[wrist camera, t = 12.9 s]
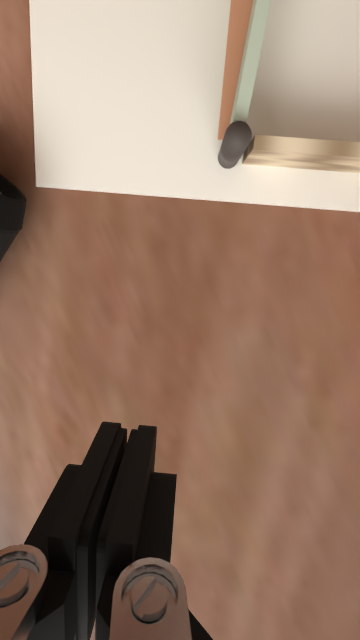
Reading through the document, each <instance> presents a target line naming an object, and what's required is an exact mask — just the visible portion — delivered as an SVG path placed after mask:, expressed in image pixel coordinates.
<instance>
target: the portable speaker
mask: <svg viewBox="0 0 360 640" xmlns="http://www.w3.org/2000/svg"><path fill="white" fill-rule="evenodd" d="M25 205H26V199H25V197H24V195H23V194H22V193H21V192H20V191H19V190H18V189H17V188H16V187H15V186H14V185H13V184H12V183H10V182H9V181H8V180H7V179H5V178H4V177H3V176H2V175H0V261H1V259H2V258H3V256H4V254H5V253H6V251H7V250H8V248H9V246H10V245H11V243H12V242H13V240H14V238H15V237H16V235H17V234H18V232H19V230H21V229H22V225H23V219H24V212H25Z"/></svg>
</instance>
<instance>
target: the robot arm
mask: <svg viewBox="0 0 360 640" xmlns="http://www.w3.org/2000/svg"><path fill="white" fill-rule="evenodd" d="M156 434H157V427H155V426H145V425H139V427H138V430H135V429H132V430H131V433H130V436H129V439H128V442H127V429H124V428H121V423H112V422H102V424H101V426H100V428H99V430H98V432H97V434H96V436H95V438H94V440H93V442H92V444H91V447H90V449H89V451H88V453H87V455H86V457H85V459H84V461H83V463H82V465H74V464H69V465H67V466H66V468H65V469H64V471H63V473H62V475H61V477H60V478H59V480H58V482H57V484H56V486H55V488H54V489H53V491H52V493H51V495H50V497H49V499H48V500H47V502H46V504H45V506H44V508H43V510H42V512H41V513H40V515H39V517H38V519H37V521H36V523H35V524H34V526H33V528H32V530H31V532H30V534H29V535H28V537H27V539H26V541H25V543H24V545H23V544H20V545H14V546H9V547H7V548H4V549H2V550H0V640H90V637H91V634H92V630H93V626H94V622H95V618H96V625H95V640H213V639H212V638H211V637H210V635H209V634H208V633H207V632H206V630H205V629H204V628H203V627H202V625H201V624H200V623H199V622H198V621H197V619H196V618H195V617H194V616H193V614H192V613H191V612H190V611H189V609H188V603H187V594H186V588H185V584H184V581H183V578H182V577H181V575H180V573H179V572H178V570H177V569H176V568H175V567H174V566H172V565H171V564H170V557H171V544H172V531H173V517H174V504H175V491H176V478H177V474H167V473H157V472H154V464H155V449H156Z"/></svg>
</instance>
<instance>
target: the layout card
mask: <svg viewBox="0 0 360 640" xmlns="http://www.w3.org/2000/svg"><path fill="white" fill-rule="evenodd" d="M29 3H30V31H31V59H32V86H33V114H34V142H35V170H36V187H45V188H58V189H71V190H83V191H96V192H109V193H122V194H134V195H147V196H160V197H173V198H186V199H198V200H211V201H224V202H237V203H250V204H262V205H275V206H288V207H301V208H314V209H326V210H339V211H352V212H360V173H351V172H338V171H324V170H311V169H298V168H285V167H271V166H258V165H245V164H242V161H243V155H242V156H241V158H240V159H239V161H238V162H237V164H236V165H235V166H234V167H233V168H230V169H226V168H223V167H222V166H221V165H220V164H219V162H218V154H219V151H220V148H221V145H222V141H223V138H224V135H225V132H226V129H227V128H228V126H229V125H230V119H231V114H232V109H233V104H234V98H235V93H236V88H237V83H238V77H239V72H240V67H241V62H242V56H243V51H244V46H245V41H246V35H247V30H248V25H249V20H250V14H251V9H252V4H253V0H29ZM246 123H247V124H248V125H249V127H250V129H251V132H252V138H251V140H252V139H253V137H254V136H255V135H266V136H279V137H293V138H306V139H320V140H334V141H347V142H360V0H271V3H270V8H269V13H268V18H267V23H266V28H265V33H264V38H263V43H262V48H261V53H260V58H259V63H258V68H257V73H256V78H255V82H254V87H253V92H252V97H251V102H250V107H249V112H248V117H247V122H246Z"/></svg>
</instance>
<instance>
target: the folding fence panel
mask: <svg viewBox="0 0 360 640" xmlns="http://www.w3.org/2000/svg"><path fill="white" fill-rule="evenodd" d="M270 3H271V0H253V4H252V9H251V14H250V20H249V25H248V30H247V35H246V41H245V46H244V51H243V56H242V62H241V67H240V72H239V77H238V83H237V88H236V93H235V98H234V104H233V109H232V114H231V119H230V124H231V123H233V122H235V121H243V122H245V123H246V122H247V117H248V112H249V107H250V102H251V97H252V92H253V87H254V82H255V78H256V73H257V68H258V63H259V58H260V53H261V48H262V43H263V38H264V33H265V28H266V23H267V18H268V13H269V8H270Z"/></svg>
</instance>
